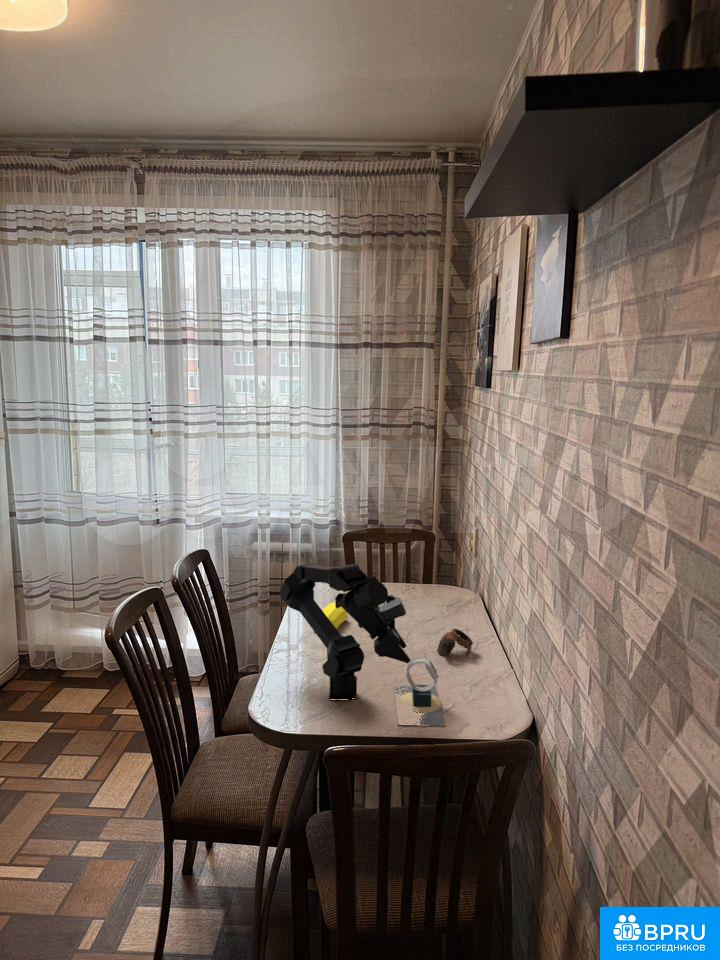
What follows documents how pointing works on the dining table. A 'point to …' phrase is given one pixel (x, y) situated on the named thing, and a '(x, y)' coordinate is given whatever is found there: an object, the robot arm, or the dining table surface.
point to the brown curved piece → (449, 642)
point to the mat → (433, 712)
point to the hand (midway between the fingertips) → (407, 654)
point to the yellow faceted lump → (335, 614)
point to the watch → (422, 692)
